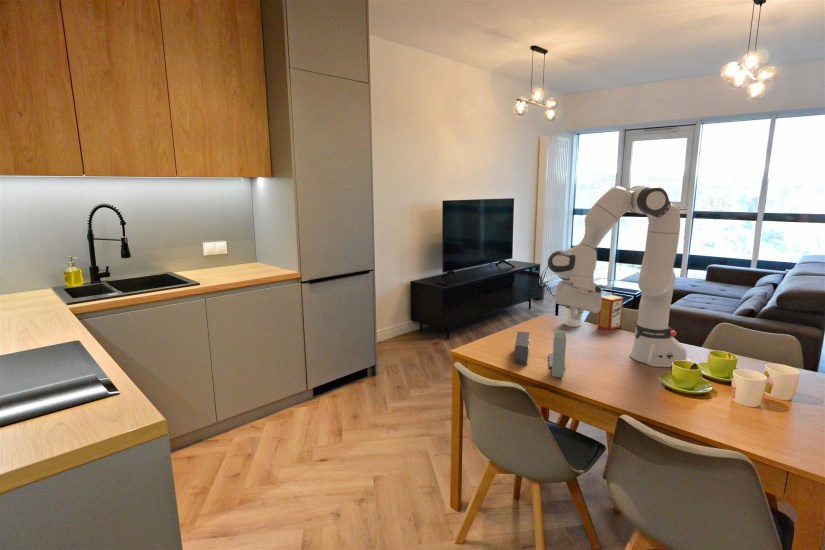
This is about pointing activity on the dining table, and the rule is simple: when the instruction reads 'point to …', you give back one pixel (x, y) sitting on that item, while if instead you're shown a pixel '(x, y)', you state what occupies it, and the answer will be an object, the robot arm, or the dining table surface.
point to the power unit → (522, 348)
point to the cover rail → (551, 361)
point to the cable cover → (558, 353)
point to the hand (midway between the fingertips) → (574, 319)
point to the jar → (568, 320)
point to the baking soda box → (611, 312)
